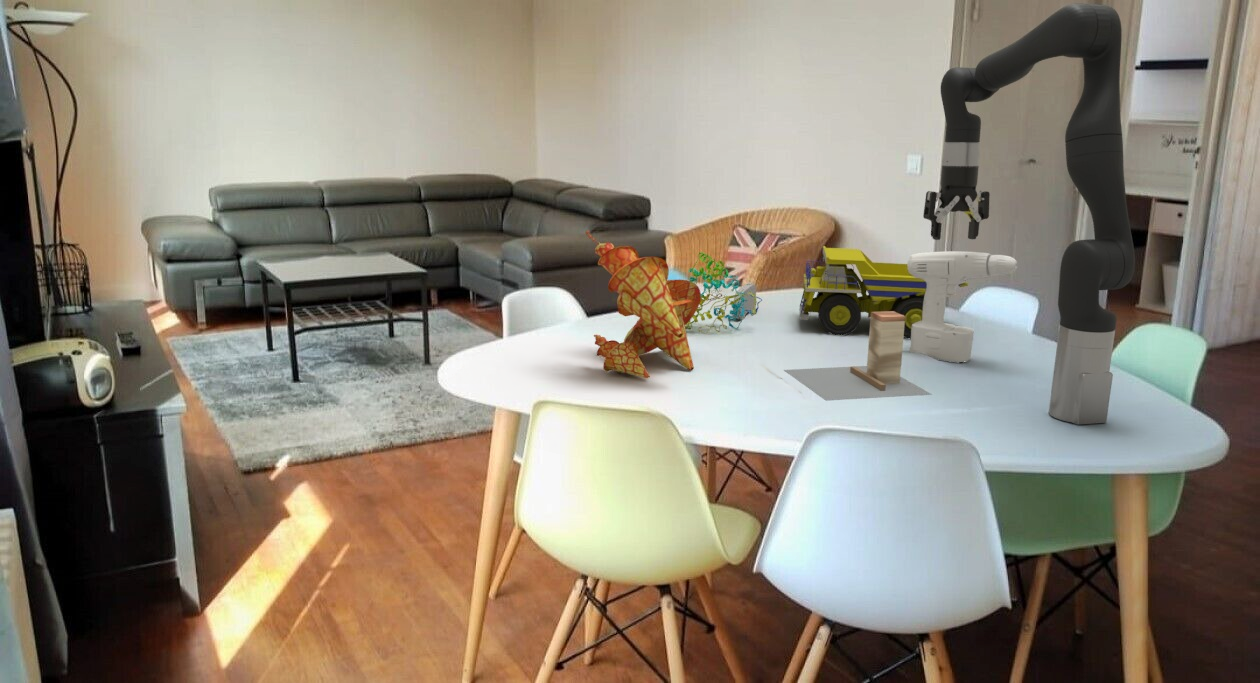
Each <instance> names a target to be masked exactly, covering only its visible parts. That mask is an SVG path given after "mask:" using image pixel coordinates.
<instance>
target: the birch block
mask: <svg viewBox="0 0 1260 683" xmlns="http://www.w3.org/2000/svg"><path fill="white" fill-rule="evenodd" d="M869 320H870V321H869V334H868V349H867V360H866V362H867V363H866V366H867V374H869V375H870V376H872V377H874V378H875V379H877V380H879V381H880V382H882V383H884V384H887V383H900V377H901V370H902V359H903V347H904V346H903V345H904V338H905V337H904V325H905V316H903V315H901V314H899V313H896V312H894V311H884V312H871V317H870V318H869Z"/></svg>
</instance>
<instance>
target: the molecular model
mask: <svg viewBox="0 0 1260 683" xmlns="http://www.w3.org/2000/svg"><path fill="white" fill-rule="evenodd" d="M702 257H703V259H702ZM706 259H707V260H706ZM699 260H700V261H702V262H704V263H705V264H706V266H705V269H706V271H708V272H706V271H705V270H704V267H703V266H702V267H700V268H699V271H698V270H697V269H696V268H694V267H695V266H696V265H697V264H698V261H699ZM713 264H715V266H714V267H713V268H711V266H712V265H713ZM721 265H722V266H721ZM724 267H725V264H724V262H723V261H722V260H719V261H715V260H713V259H712V256H710V255H708V254H706V253H704V252H698V254H697V260H696V262H695V264H694V265H693V267H692V268H690V269H688V272H689V273H692V275H693V276H690V277H689V281H691V282H693V283H694V282H695V284H696V285H697V283H698V278H699V277H700V276H701V279H702V280H704V282H702V283H703V284H702V286H703V292H702V293H701V299H700V303H699V305H700V306H698V308H697V310H696V313H697V314H696V315H695V314H694V315H693V317H692V318H693V321H691V320H692V318H691V319H690V321H689V322H688V323H687V324H686V325H685V330H686V329H689V330H691V329H692V328H693V324H692V323H699V320H698V317H699V316H700V319H701V321H705V320H706V318H705V317H707V319H708V320H712V318H713V316H712V314H711V309H713V315H714V316H716V318H714V320H713V322H712V324H711V325H710V326H709V325H705V326H699V327H698V328H697V331H699V332H700V333H701V334H707V333H709V332H710V331H711V329H712V328H714V330H716V332H720V331H721V327H722V328H724V329H725V330H726V329H727V328H728V327H727V325H725V324H724V322H723V318H724V319H727V318H728V326H729V327H730V328H731V329H732V328H733V329H735V330H736V329H737V330H738V329H739V328H740V325H741V323H743V322H742V321H743V320H740V321H739V323H738V326H737V327H735V326H734V325H733V324H732V322H731V321H737V320H736V319H737V313H738V310H739V308H742V307H740V306H741V304H742V301H743V308H742V312H741V315H740V316H741V317H743V315H744V311H748V312H747V313H749V314H750V316H752V317H753V316H755V315H757V313H758V310H759V304H760V303H761V302H762V301H763V299H762V298H760V297H759V296H757V295H756V296H755V295H754V294H752V293H751V294H749V293H746V294H743V293H740V294H739V293H737V290H738V288H739V286H740V281H739V278H738V276H737V275H734V274H732V275H729V271H728V269H727V268H724ZM716 271H718V272H716ZM710 272H711V273H710ZM723 272H725V273H723ZM721 276H723V279H722V278H721ZM718 277H719V279H717V278H718ZM735 277H736V278H735ZM727 278H729V279H731V280H730V281H731V282H728V283H725V279H727ZM732 278H733V279H732ZM708 283H709V284H710V285H709V284H708ZM713 287H714V289H713ZM721 287H722V288H723V289H726V290H727V289H729V288H731V287H732V289H731V292H734V290H735V293H737V294H738V295H735V294H734V295H726V294H724V295H723V294H722V293H721ZM711 289H713V290H711ZM714 293H716V294H715V295H713V294H714ZM705 294H706V295H705ZM748 294H749V295H751V296H752V297H754V299H755V298H756V300H755V307H754V308H753V310H752V312H751V311H749V310H744V301H747V299H745V300H744V298H743V297H744V296H745V295H748ZM737 296H741V297H739V298H738V299H736V300H734V297H737ZM717 299H718V301H715V300H717ZM730 299H733V300H730ZM740 299H741V300H742V301H741V302H740V303H739V301H740ZM757 299H759V300H760V301H758V300H757ZM738 300H739V301H738ZM707 301H708V302H707ZM712 301H715V302H713V303H712V306H711V307H710V309H708V310H707V311H704V312H703V313H700V311H702V310H703V307H704V306H706V305H708V304H710V302H712ZM722 301H724V303H722V304H720V305H715V304H717V303H720V302H722ZM737 301H738V304H737V305H736V304H735V303H736V302H737ZM705 302H707V303H705ZM728 302H729V303H728ZM728 306H731V308H732V309H731V310H729V314H726V309H727V307H728ZM733 306H734V307H733ZM723 308H724V309H723ZM733 308H735V311H734V310H733ZM704 314H705V315H706V316H704ZM734 314H735V315H736V318H735V319H734V316H735V315H734ZM733 315H734V316H733ZM716 320H719V321H720V322H721V325H719V326H718V329H717V328H716V326H715V325H714V324H715V321H716ZM706 327H708V328H709V330H708V331H702V330H700V328H706Z"/></svg>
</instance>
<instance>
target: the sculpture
mask: <svg viewBox="0 0 1260 683" xmlns="http://www.w3.org/2000/svg"><path fill="white" fill-rule="evenodd" d="M584 233H585V234H586V235H587V237H588V238H589V239H591V241H592V242H595V243H596V246H595V248H594V253H595V254H596V255H598V256H599V258H598V259H599V260H597V265H598V266H602V268H603V269H605V270H606V271H607V272H608V273H609V274H610V275H612V276H611V277H610V279H609V282H608V285H607V289H608V290H607V291H608V292H610V293H614V292H616V293H617V294H618V297H617V299H616V303H617V304H616V305H617V311H618V314H620V315H622V316H623V317H628V316H629V317H630V316H635V317H638V318H639V319H637V321H636V323H635V324H634V326H632V327H631V329H630V330H629V331H628V332H627V333H626V335H625V338H624V339H623V342H620V343H619V341H617V340H613V339H611V340H607V338H606V337H604V336H601V335H600V334H594V335H593V337H594V339H595V341H594V345H596V346H598V349H597V350H596V356H597V357H599V356H601V357H603V358H604V361H603V370H604V371H605V372H607V373H608V372H611V371H615V372H617V373H618V374H622V373H623V374H628V375H632V376H636V377H639V378H640V377H641V378H645V379H649V378H651V376H650V374H649V372H648V370H647V368H646V367H645V365H644V364H643V362H642V360H641V358H640V357H639V356H642V355H645V354H647V353H650V352H651V351H653V350H655V349H657V348H658V349H659V350H660V351H662V352H663V353H664V354H666V355H667V356H669V357H670V358H672V359H673V360H674V361H676V362H677V363H679V364H680V365H681V366H682V367H684V368H685V369H687V370H688V371H690V372H691V371H693V370H695V369H694V368H695V367H694V362H693V358H692V353H691V349H690V343H689V340H688V336H687V335H688V334H687V330H686V329H685V328H686V324H687V323H688V322H689V321H690V322H691V320H692V318H693V315H695V313H697V311H696V310H697V308H698V307H700V306H699V303H700V299H701V294H702V293H701V289H700V287H699V286H698V285H697V284H696V282H694V281H693V282H691V281H690V280H687V279H668V278H669V273H670V272H669V271H670V269H669V265H668V262H667V261H666V260H664V259H663V258H661V257H658V256H644V257H639V253H638V251H637V249H635V248H634V247H633V246H630V245H619V246H614V244H613V243H611V242H603V243H600V242H596V239H595V238H593V237H592V234H590V231H589V230H586V231H585V232H584ZM598 243H599V244H598ZM698 309H699V308H698ZM690 319H691V320H690Z"/></svg>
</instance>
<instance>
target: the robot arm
mask: <svg viewBox="0 0 1260 683" xmlns="http://www.w3.org/2000/svg"><path fill="white" fill-rule="evenodd" d="M1122 30H1123V29H1122V21H1121V19H1120V15H1119V13H1118V12H1117V10H1116V9H1114V8H1113V7H1112V6H1109V5H1104V4H1096V3H1095V4H1092V3H1079V2H1078V3H1070V4H1066V5H1065V6H1063V7H1061V8H1060V9H1058V10H1057V11H1055V12H1054V13H1053V14H1051V15H1049V16H1048V17H1047V18H1046V19H1045V20H1043V21H1042V22H1041V23H1040V24H1038V25H1037V26H1036V27H1034V28H1033V29H1032V30H1030V31H1029V32H1028V33H1026V34H1024V35H1023V36H1022V37H1020V38H1019V39H1018V40H1016V41H1015V42H1013V43H1011V44H1009V45H1007V46H1005V47H1003V48H1001V49H999V50H997V51H995V52H993V53H991V54H988V55H987V56H985V57H984V58H982V59H981V60H980V61H979V62H978V64H977V65H976V67H958V66H957V67H951V68H950V69H947V71H946V72H945V73H944V74H943V77H942V79H941V82H940V97H941V101H942V107H943V112H944V117H945V124H946V125H945V126H946V127H945V136H944V145H943V146H944V147H943V150H942V151H943V152H942V158H941V174H940V190H939V191H938V192H936V191H930V190H928V191H927V192H926V193H925V201H924V208H923V219H925V220H928V221H930V222H931V225H930V226H931V227H930V237H932V240H934V241H935V240H936V241H939V240H941V238H942V236H941V233H942V220H943V219H944V218H945V217H946V216H947V215H949V213H950V212H954V213H955V212H962V213H963V212H964V213H965V214H966V215H967V217H968V218H969V220H970V221H968V233H967V239H969V240H976V239H977V237H978V236H979V230H980V224H981V221H983V220H988V219H989V217H990V198H991V197H990V196H991V195H990V192H989V191H986V190H979V191H977V186H978V178H979V168H980V150H981V149H980V141H981V130H982V128H981V127H982V120H981V117H980V116H979V114H974V113H972V112H969V110H968V108H967V104H966V103H979V102H983V101H986V100H988V99H990V98H992V96H993V95H994V94H996V93H997V92H998V91H999V90H1000V89H1002V88H1005V87H1006V86H1009V85H1011V84H1013V83H1014V84H1015V82H1018V81H1021V79H1023V78H1024V77H1025V76H1027V75H1028V74H1029V73H1030V72H1031V71H1032V69H1033V68H1034V67H1035V65H1036V64H1038V63H1039V62H1041V61H1042V62H1043V61H1044V60H1048V59H1051V58H1052V59H1053V58H1057V57H1066V58H1072V59H1073V58H1077V59H1079V58H1080V59H1082V61H1083V89H1082V93H1081V95H1080V98H1079V100H1078V101H1077V102H1078V103H1077V105H1076V106H1075V108H1074V110H1073V112H1072V114H1071V117H1070V119H1069V121H1068V123H1067V126H1066V129H1065V136H1064V142H1065V145H1064V146H1065V160H1066V161H1065V162H1066V168H1067V173H1068V176H1069V177H1070V179H1071V181H1072V183H1073V184H1074V187H1075V188H1076V190H1077V192H1078V193H1079V194H1080V195H1081V197H1082V199H1083V200H1084V202H1085V204H1086V205H1087V207H1088V209H1089V212H1090V215H1091V219H1092V222H1093V224H1092V225H1093V234H1094V238H1092V239H1079V240H1075V241H1072V243H1070V244H1069V245H1068V246H1067V247H1066V249H1065V250H1064V252H1063V254H1062V255H1063V256H1062V257H1061V262H1060V270H1059V283H1058V297H1057V298H1058V299H1057V305H1058V306H1057V307H1058V312H1059V316H1060V320H1059V327H1058V333H1057V334H1058V335H1057V341H1056V350H1055V357H1054V358H1055V359H1054V367H1053V373H1052V382H1051V388H1050V389H1051V390H1050V400H1049V407H1048V414H1049V415H1050V416H1051V417H1052V418H1055V419H1058V420H1059V421H1060V420H1061V421H1064V422H1067V423H1073V424H1075V425H1077V426H1078V425H1091V424H1107V419H1108V414H1109V413H1108V412H1109V406H1110V400H1111V399H1110V397H1111V390H1112V384H1113V377H1114V374H1113V372H1111V371H1110V368H1111V363H1112V356H1113V355H1112V354H1113V347H1114V341H1115V334H1116V328H1117V321H1118V320H1117V319H1118V318H1117V315H1116V313H1114V312H1113V311H1111V310H1109V309H1106V308H1104V307H1102V306H1101V304H1100V291H1109V290H1110V291H1111V290H1114V291H1115V290H1119V289H1123V288H1125V287H1126V286H1127V285H1128V284H1129V283H1130V282H1131V280H1132V279H1133V276H1134V273H1135V264H1136V258H1135V257H1136V256H1135V248H1134V247H1135V246H1134V242H1133V236H1132V231H1131V226H1130V225H1131V224H1130V219H1129V218H1130V217H1129V213H1128V212H1129V211H1128V205H1127V195H1126V182H1125V170H1124V169H1125V168H1124V141H1123V128H1122V120H1121V116H1122V115H1121V91H1120V90H1121V88H1120V85H1121V84H1120V78H1121V57H1122V56H1121V54H1122V40H1123V39H1122V37H1123V36H1122V35H1123V34H1122V33H1123V31H1122ZM939 200H940V203H939V205H938V206H937V208H936V204H937V202H938V201H939ZM975 201H977V207H976V205H975V204H974V202H975Z"/></svg>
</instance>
